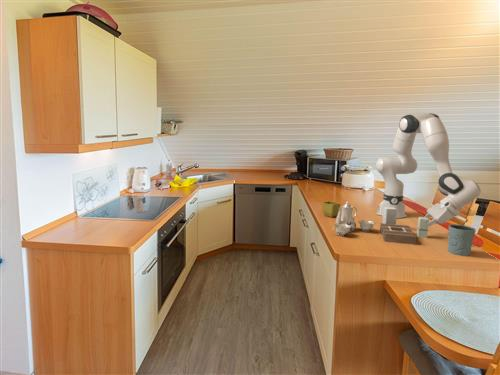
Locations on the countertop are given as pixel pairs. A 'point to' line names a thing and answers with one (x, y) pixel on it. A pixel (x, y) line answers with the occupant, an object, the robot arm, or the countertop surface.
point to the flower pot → (330, 208)
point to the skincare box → (389, 215)
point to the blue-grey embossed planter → (460, 239)
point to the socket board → (397, 233)
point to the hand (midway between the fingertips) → (425, 222)
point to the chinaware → (349, 221)
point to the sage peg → (422, 227)
